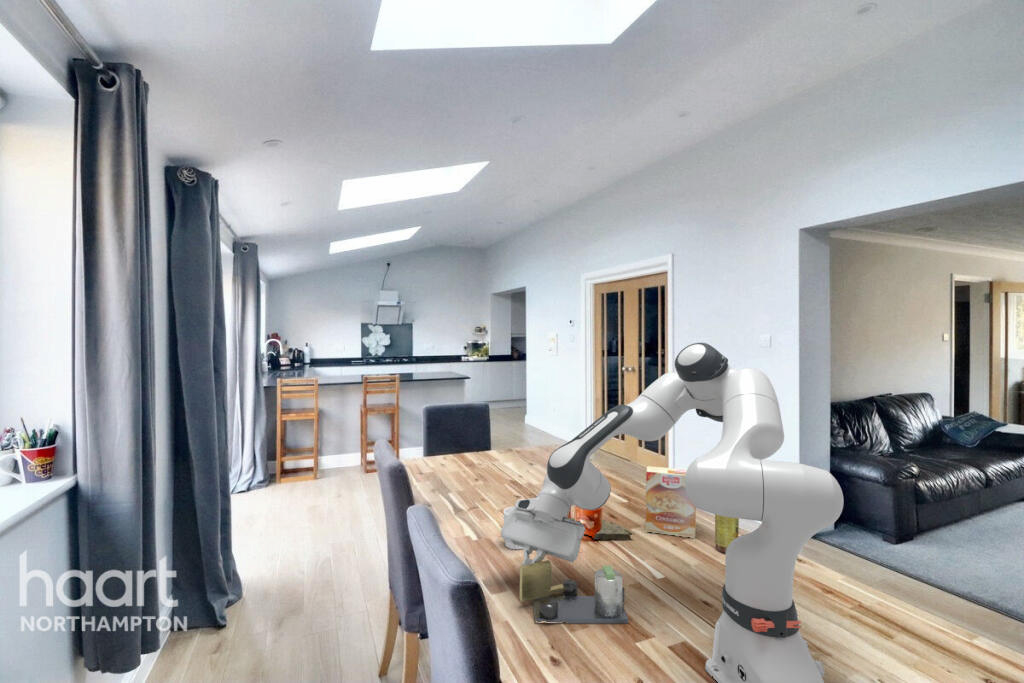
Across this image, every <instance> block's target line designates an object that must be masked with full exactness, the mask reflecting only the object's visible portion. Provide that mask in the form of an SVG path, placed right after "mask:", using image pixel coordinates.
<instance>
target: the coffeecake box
mask: <svg viewBox="0 0 1024 683" xmlns="http://www.w3.org/2000/svg"><path fill="white" fill-rule="evenodd" d="M686 472H687V469H683V468H673V467H664V466H663V467H662V466H652V465H647V466H646V471H645V527H644V528H645V529H644V530H645V533H647V532H652V533H651V534H655V533H660V534H659V535H663V534H667V535H666V536H671V535H675V536H674V537H679V536H682V537H681V538H687V537H690V538H689V539H695V538H696V521H697V520H696V519H697V518H696V516H697V514H696V513H697V508H696V507H695V506H694V505H693V504H692V502H691V501H690V499H689V497H688V495H687V493H686V489H685V475H686Z"/></svg>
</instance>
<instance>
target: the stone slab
mask: <svg viewBox="0 0 1024 683" xmlns="http://www.w3.org/2000/svg"><path fill="white" fill-rule="evenodd" d="M570 519H572V520H575V519H574V518H570ZM632 535H634V531H631V530H629V529H627V528H626V527H624V526H622V525H620V524H617V523H615V522H612V521H610V522H609V521H606V519H602V528H601V530H600V531H599V532H597V533H596V534H595V537H594V538H593V539H594V540H603V541H608V540H617V541H628V539H629V540H631V536H632Z"/></svg>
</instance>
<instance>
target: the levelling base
mask: <svg viewBox="0 0 1024 683" xmlns="http://www.w3.org/2000/svg"><path fill="white" fill-rule="evenodd" d="M625 592H626V591H625V587H624V586H623V574H622V573H621V572H620V571H618V570H616V569H613V567H612V566H611V565H608V564H607V565H602V568H600V569H598V570H596V571H595V572H594V595H577V596H564V595H548V596H544V597H540V598H536V599H532V606H534V607H533V613H534V614H533V615H535V616H534V622H535V621H537V622H541V621H546V622H568V623H567V624H629V617H628V615H627V612H626V610H625V608H624V605H623V604H624V603H625V596H626V594H625Z"/></svg>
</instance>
